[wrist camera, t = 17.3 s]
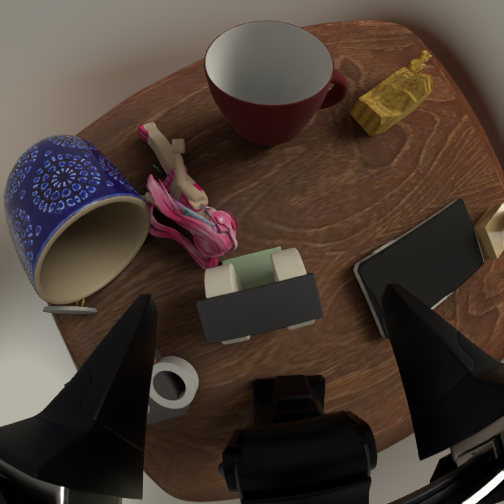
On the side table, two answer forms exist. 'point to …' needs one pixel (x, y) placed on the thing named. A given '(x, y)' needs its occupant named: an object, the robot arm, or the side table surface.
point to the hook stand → (491, 231)
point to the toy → (185, 203)
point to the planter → (72, 218)
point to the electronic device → (170, 388)
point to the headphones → (258, 301)
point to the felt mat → (254, 268)
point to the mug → (271, 79)
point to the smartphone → (423, 260)
